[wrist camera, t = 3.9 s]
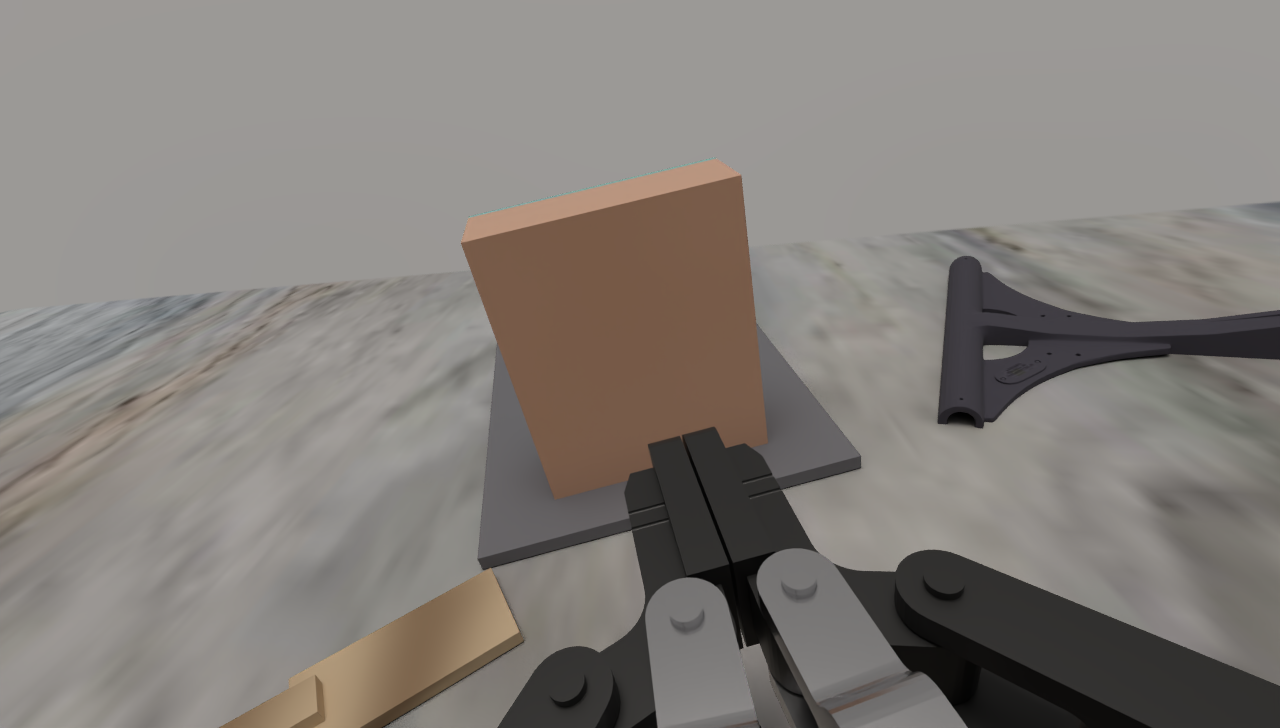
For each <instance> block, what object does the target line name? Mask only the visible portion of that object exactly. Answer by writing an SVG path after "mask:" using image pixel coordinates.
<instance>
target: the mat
mask: <svg viewBox="0 0 1280 728" xmlns="http://www.w3.org/2000/svg"><path fill="white" fill-rule="evenodd" d="M756 327H757V337H758V347H759V357H760V367H761V377H762V387H763V398H764V408H765V418H766V428H767V438H768V443H767V444H763V445H759V446H756V447H752V449H754V450H755V451H757V452H758V453H759V454H761V455H762V456H763V458H764V459H765V461H766V463H767V465H768V467H769V468H770V470H771V472H772V475H773V477H775V479H776V481H777V483H778V484H779V486H780V489H783V488H787V487H790V486H794V485H798V484H801V483H805V482H809V481H813V480H816V479H820V478H824V477H827V476H831V475H835V474H839V473H842V472H846V471H850V470H853V469H857V468H861V455H860V454H859V453H858V451H857V450H856V449H855V448H854V446H853V445H852V444H851V443H850V441H849V440H848V439H847V437H846V436H845V435H844V434H843V432H842V431H841V430H840V429H839V427H838V426H837V425H836V424H835V422H834V421H833V420H832V419H831V417H830V416H829V415H828V413H827V412H826V411H825V410H824V408H823V407H822V406H821V405H820V403H819V402H818V401H817V400H816V398H815V397H814V396H813V394H812V393H811V392H810V391H809V389H808V388H807V387H806V386H805V384H804V383H803V382H802V381H801V379H800V378H799V377H798V375H797V374H796V373H795V372H794V370H793V369H792V368H791V367H790V365H789V364H788V363H787V362H786V360H785V359H784V358H783V356H782V355H781V354H780V353H779V351H778V350H777V349H776V348H775V346H774V345H773V344H772V343H771V341H770V340H769V339H768V338H767V336H766V335H765V334H764V332H763V331H762V330H761V329H760V327H759V326H758V325H757V324H756ZM627 482H628V481H624V482H620V483H616V484H613V485H609V486H605V487H601V488H597V489H594V490H590V491H586V492H582V493H579V494H575V495H571V496H567V497H564V498H560V499H556V500H555V499H554V496H553V493H552V491H551V488H550V485H549V483H548V480H547V477H546V474H545V472H544V469H543V466H542V463H541V461H540V458H539V455H538V452H537V450H536V447H535V444H534V442H533V439H532V436H531V433H530V431H529V428H528V425H527V422H526V420H525V417H524V414H523V411H522V409H521V406H520V403H519V400H518V398H517V395H516V392H515V390H514V387H513V384H512V381H511V379H510V376H509V373H508V370H507V368H506V365H505V362H504V359H503V357H502V354H501V351H500V349H499V346H498V343H497V349H496V360H495V371H494V382H493V393H492V404H491V415H490V426H489V437H488V449H487V460H486V471H485V482H484V493H483V504H482V515H481V526H480V537H479V548H478V561H479V563H480V565H481V567H482V569H487V568H490V567H494V566H498V565H501V564H505V563H509V562H512V561H516V560H520V559H524V558H527V557H531V556H535V555H538V554H542V553H546V552H550V551H553V550H557V549H561V548H564V547H568V546H572V545H575V544H579V543H583V542H587V541H590V540H594V539H598V538H601V537H605V536H609V535H613V534H616V533H620V532H624V531H627V530H631V529H632V528H631V523H630V519H629V514H628V509H627V505H626V500H625V495H624V491H625V488H626V485H627Z"/></svg>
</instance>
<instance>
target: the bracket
mask: <svg viewBox="0 0 1280 728" xmlns="http://www.w3.org/2000/svg"><path fill="white" fill-rule="evenodd" d="M983 345H1014V346H1028V347H1027V348H1026V349H1025V350H1024V351H1023V352H1021V353H1019V354H1017V355H1015V356H1012V357H1009V358H1004V359H996V360H984V359H983ZM1163 354H1185V355H1204V356H1223V357H1241V358H1260V359H1279V360H1280V310H1277V311H1268V312H1260V313H1252V314H1244V315H1235V316H1227V317H1219V318H1211V319H1200V320H1177V321H1153V322H1126V321H1119V320H1112V319H1107V318H1101V317H1096V316H1091V315H1086V314H1081V313H1076V312H1071V311H1067V310H1063V309H1060V308H1058V307H1055V306H1052V305H1049V304H1046V303H1043V302H1040V301H1038V300H1035V299H1032V298H1030V297H1028V296H1025V295H1023V294H1021V293H1019V292H1017V291H1015V290H1013V289H1011V288H1010V287H1008V286H1006V285H1005V284H1003V283H1002V282H1000V281H999V280H998V279H996V278H995V277H994V276H993V275H991V274H990V273H988V272H985V273H983V272H982V269H981V265H980V263H979V261H978V260H977V259H975V258H974V257H971V256H962V257H959V258H957V259H956V260H954V262H953V263H952V264H951V266H950V270H949V283H948V296H947V309H946V322H945V335H944V347H943V360H942V373H941V386H940V399H939V412H938V424H948V417H949V416H950V415H951V414H953V413H955V412H966V413H968V414H970V415H972V416H973V417H974V420H975V427H977V428H983V426H984V422H994V421H995V420H996V419H997V418H998V417H999V415H1000V414H1001V413H1002V412H1003V411H1004V410H1005V409H1006V408H1007V407H1008V406H1009V405H1010V404H1011V403H1012V402H1013V401H1014V400H1016V399H1017V398H1018V397H1019V396H1021V395H1022V394H1024V393H1025V392H1026V391H1028V390H1030V389H1031V388H1033V387H1035V386H1037V385H1038V384H1040V383H1042V382H1045V381H1047V380H1049V379H1051V378H1053V377H1055V376H1058V375H1060V374H1063V373H1065V372H1068V371H1070V370H1072V369H1075V368H1079V367H1083V366H1087V365H1092V364H1097V363H1102V362H1107V361H1112V360H1119V359H1125V358H1134V357H1143V356H1153V355H1163Z"/></svg>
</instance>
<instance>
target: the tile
mask: <svg viewBox="0 0 1280 728" xmlns="http://www.w3.org/2000/svg"><path fill="white" fill-rule="evenodd" d="M461 244H462V247H463V250H464V253H465V256H466V258H467V261H468V263H469V266H470V269H471V272H472V275H473V277H474V280H475V283H476V286H477V288H478V291H479V294H480V297H481V299H482V302H483V305H484V308H485V310H486V313H487V316H488V318H489V321H490V324H491V327H492V329H493V332H494V335H495V338H496V340H497V343H498V346H499V349H500V351H501V354H502V357H503V359H504V362H505V365H506V368H507V370H508V373H509V376H510V379H511V381H512V384H513V387H514V390H515V392H516V395H517V398H518V400H519V403H520V406H521V409H522V411H523V414H524V417H525V420H526V422H527V425H528V428H529V431H530V433H531V436H532V439H533V442H534V444H535V447H536V450H537V452H538V455H539V458H540V461H541V463H542V466H543V469H544V472H545V474H546V477H547V480H548V483H549V485H550V488H551V491H552V493H553V496H554V499H555V500H556V499H560V498H564V497H567V496H571V495H575V494H579V493H582V492H586V491H590V490H594V489H597V488H601V487H605V486H609V485H613V484H616V483H620V482H624V481H628V478H629V475H630V474H631V473H634V472H638V471H642V470H646V469H649V468H653V466H652V461H651V457H650V453H649V449H648V444H650V443H654V442H657V441H661V440H665V439H669V438H673V437H676V436H680V437H681V439H682V435H683V434H687V433H691V432H695V431H699V430H702V429H706V428H710V427H715V428H716V429H717V431H718V433H719V436H720V438H721V440H722V442H723V444H724V446H725V448H728V447H732V446H735V445H739V444H743V443H745V444H747V445H748V446H750V447H751V448H752V447H756V446H759V445H763V444H767V443H768V438H767V428H766V418H765V408H764V398H763V387H762V377H761V367H760V357H759V347H758V337H757V327H756V317H755V307H754V297H753V287H752V277H751V267H750V257H749V247H748V237H747V228H746V217H745V207H744V198H743V187H742V178H741V175H740V174H739V173H737V172H736V171H734V170H733V169H731V168H730V167H728V166H727V165H725V164H724V163H722V162H721V161H719V160H718V159H716V158H711V159H706V160H702V161H699V162H694V163H690V164H686V165H682V166H678V167H673V168H669V169H665V170H661V171H657V172H652V173H648V174H644V175H640V176H636V177H631V178H627V179H624V180H619V181H615V182H611V183H606V184H602V185H598V186H594V187H590V188H586V189H582V190H578V191H573V192H569V193H565V194H561V195H556V196H552V197H548V198H544V199H540V200H536V201H531V202H527V203H523V204H519V205H515V206H511V207H506V208H502V209H498V210H494V211H490V212H485V213H481V214H477V215H473V216H469V218H468V221H467V224H466V228H465V231H464V234H463V238H462V241H461ZM682 442H683V441H682Z"/></svg>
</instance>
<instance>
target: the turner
mask: <svg viewBox="0 0 1280 728" xmlns="http://www.w3.org/2000/svg"><path fill="white" fill-rule="evenodd" d="M523 641H524V640H523V638H522V636H521V633H520V631H519V629H518V627H517V624H516V622H515V620H514V618H513V615H512V613H511V611H510V609H509V606H508V604H507V602H506V600H505V597H504V595H503V593H502V591H501V589H500V586H499V584H498V582H497V580H496V577H495V575H494V573H493V571H492V569H491V568H489V569H487V570H486V571H484V572H482V573H480V574H478V575H477V576H475V577H473V578H471V579H469V580H467V581H466V582H464V583H462V584H460V585H458V586H457V587H455V588H453V589H451V590H449V591H448V592H446V593H444V594H442V595H440V596H438V597H437V598H435V599H433V600H431V601H429V602H428V603H426V604H424V605H422V606H420V607H418V608H417V609H415V610H413V611H411V612H409V613H408V614H406V615H404V616H402V617H400V618H398V619H397V620H395V621H393V622H391V623H389V624H388V625H386V626H384V627H382V628H380V629H379V630H377V631H375V632H373V633H371V634H369V635H368V636H366V637H364V638H362V639H360V640H359V641H357V642H355V643H353V644H351V645H349V646H348V647H346V648H344V649H342V650H340V651H339V652H337V653H335V654H333V655H331V656H330V657H328V658H326V659H324V660H322V661H320V662H319V663H317V664H315V665H313V666H311V667H310V668H308V669H306V670H304V671H302V672H300V673H299V674H297V675H295V676H293V677H291V678H290V679H289V689H288V690H286V691H284V692H282V693H280V694H279V695H277V696H275V697H273V698H271V699H270V700H268V701H266V702H264V703H262V704H261V705H259V706H257V707H255V708H253V709H252V710H250V711H248V712H246V713H244V714H243V715H241V716H239V717H237V718H235V719H234V720H232V721H230V722H228V723H226V724H225V725H223V726H221V727H219V728H382V727H383V726H385V725H387V724H388V723H390V722H392V721H393V720H395V719H397V718H398V717H400V716H402V715H403V714H405V713H406V712H408V711H410V710H411V709H413V708H415V707H416V706H418V705H420V704H421V703H423V702H425V701H426V700H428V699H429V698H431V697H433V696H434V695H436V694H438V693H439V692H441V691H443V690H444V689H446V688H448V687H449V686H451V685H452V684H454V683H456V682H457V681H459V680H461V679H462V678H464V677H466V676H467V675H469V674H471V673H472V672H474V671H475V670H477V669H479V668H480V667H482V666H484V665H485V664H487V663H489V662H490V661H492V660H494V659H495V658H497V657H498V656H500V655H502V654H503V653H505V652H507V651H508V650H510V649H512V648H513V647H515V646H517V645H518V644H520V643H521V642H523Z"/></svg>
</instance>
